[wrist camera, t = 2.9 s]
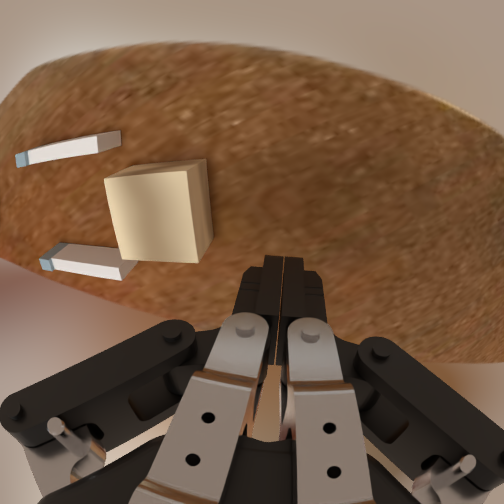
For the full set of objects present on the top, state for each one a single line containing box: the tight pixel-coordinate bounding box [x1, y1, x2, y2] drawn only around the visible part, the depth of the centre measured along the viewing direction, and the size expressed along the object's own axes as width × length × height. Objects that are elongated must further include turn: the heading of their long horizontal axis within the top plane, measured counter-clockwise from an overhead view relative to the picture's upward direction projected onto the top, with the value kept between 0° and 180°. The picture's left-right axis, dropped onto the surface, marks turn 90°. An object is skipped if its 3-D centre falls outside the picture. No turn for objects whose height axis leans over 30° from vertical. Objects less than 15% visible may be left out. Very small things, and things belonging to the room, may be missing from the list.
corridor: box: [15, 130, 138, 281], centre depth 20 cm, size 10×11×3 cm
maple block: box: [104, 159, 214, 263], centre depth 19 cm, size 6×6×4 cm
